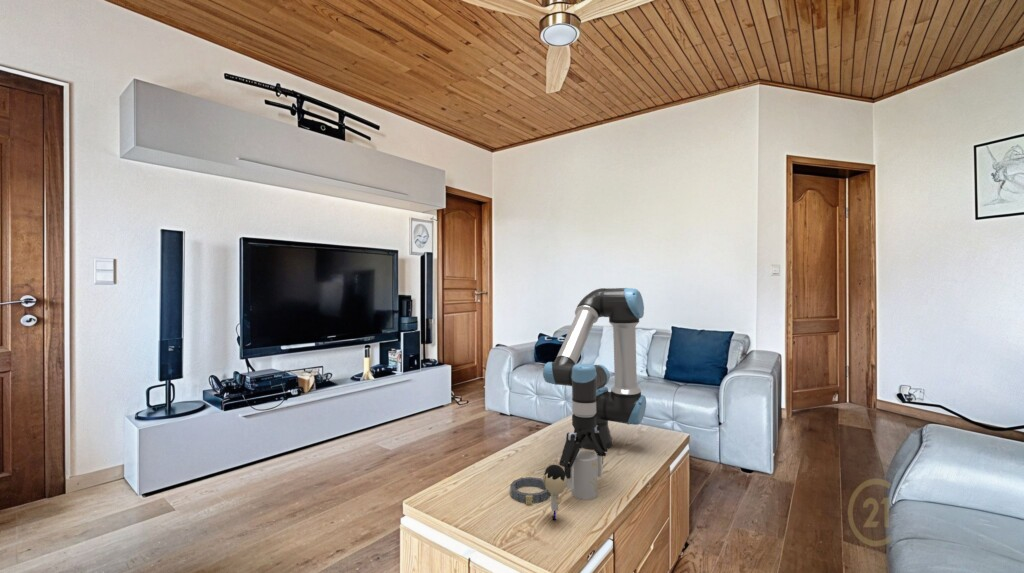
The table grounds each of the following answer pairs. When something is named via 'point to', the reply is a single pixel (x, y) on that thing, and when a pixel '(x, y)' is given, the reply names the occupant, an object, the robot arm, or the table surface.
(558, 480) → the toy
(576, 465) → the grey cylinder
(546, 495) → the collar
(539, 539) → the table surface
